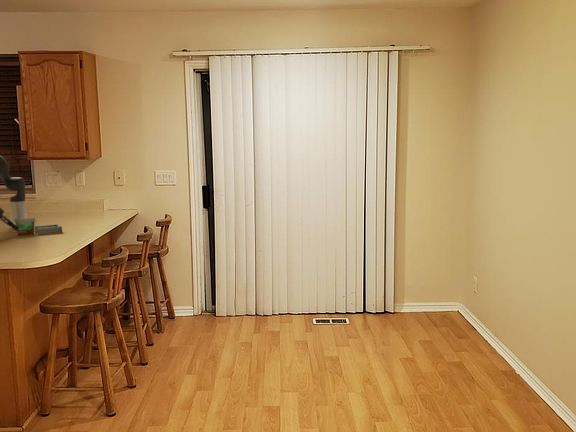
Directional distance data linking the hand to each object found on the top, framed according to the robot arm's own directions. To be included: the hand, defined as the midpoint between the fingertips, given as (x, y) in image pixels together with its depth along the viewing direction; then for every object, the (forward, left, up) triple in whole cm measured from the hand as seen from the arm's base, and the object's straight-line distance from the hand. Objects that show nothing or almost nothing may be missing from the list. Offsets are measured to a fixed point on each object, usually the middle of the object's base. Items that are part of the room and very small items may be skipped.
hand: (17, 229), depth 367 cm
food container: (0, +4, -4) cm, 6 cm away
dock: (0, +18, -4) cm, 18 cm away
